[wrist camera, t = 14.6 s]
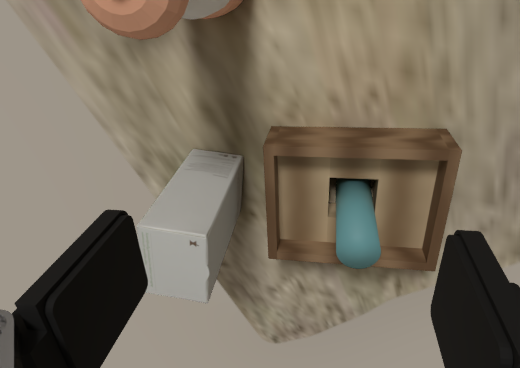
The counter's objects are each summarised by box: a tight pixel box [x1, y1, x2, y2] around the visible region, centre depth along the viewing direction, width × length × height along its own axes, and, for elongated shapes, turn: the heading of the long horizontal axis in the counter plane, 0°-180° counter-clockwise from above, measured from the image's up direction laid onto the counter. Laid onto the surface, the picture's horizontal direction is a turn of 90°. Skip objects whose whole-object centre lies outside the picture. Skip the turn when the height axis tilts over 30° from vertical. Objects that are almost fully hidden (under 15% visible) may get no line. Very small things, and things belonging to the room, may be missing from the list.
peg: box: [336, 178, 381, 269], centre depth 38 cm, size 4×4×12 cm
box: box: [263, 126, 462, 271], centre depth 41 cm, size 18×14×6 cm
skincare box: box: [137, 149, 243, 303], centre depth 40 cm, size 8×7×16 cm
